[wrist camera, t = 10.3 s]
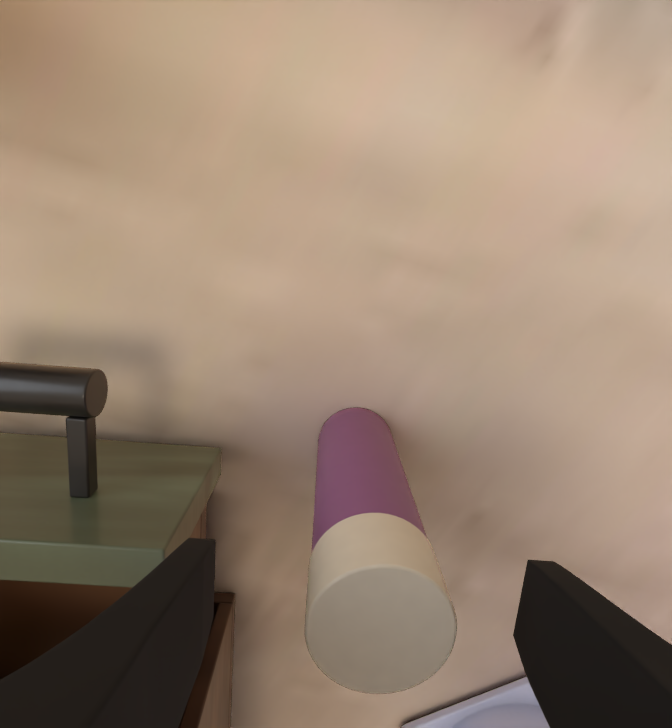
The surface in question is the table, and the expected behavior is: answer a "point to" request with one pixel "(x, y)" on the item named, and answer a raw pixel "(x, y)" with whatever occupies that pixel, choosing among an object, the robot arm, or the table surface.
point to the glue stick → (372, 566)
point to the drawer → (83, 510)
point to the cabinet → (214, 672)
